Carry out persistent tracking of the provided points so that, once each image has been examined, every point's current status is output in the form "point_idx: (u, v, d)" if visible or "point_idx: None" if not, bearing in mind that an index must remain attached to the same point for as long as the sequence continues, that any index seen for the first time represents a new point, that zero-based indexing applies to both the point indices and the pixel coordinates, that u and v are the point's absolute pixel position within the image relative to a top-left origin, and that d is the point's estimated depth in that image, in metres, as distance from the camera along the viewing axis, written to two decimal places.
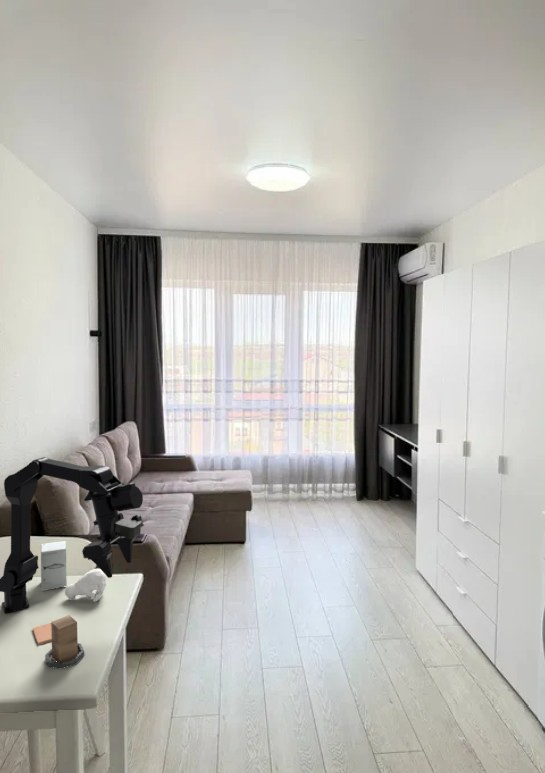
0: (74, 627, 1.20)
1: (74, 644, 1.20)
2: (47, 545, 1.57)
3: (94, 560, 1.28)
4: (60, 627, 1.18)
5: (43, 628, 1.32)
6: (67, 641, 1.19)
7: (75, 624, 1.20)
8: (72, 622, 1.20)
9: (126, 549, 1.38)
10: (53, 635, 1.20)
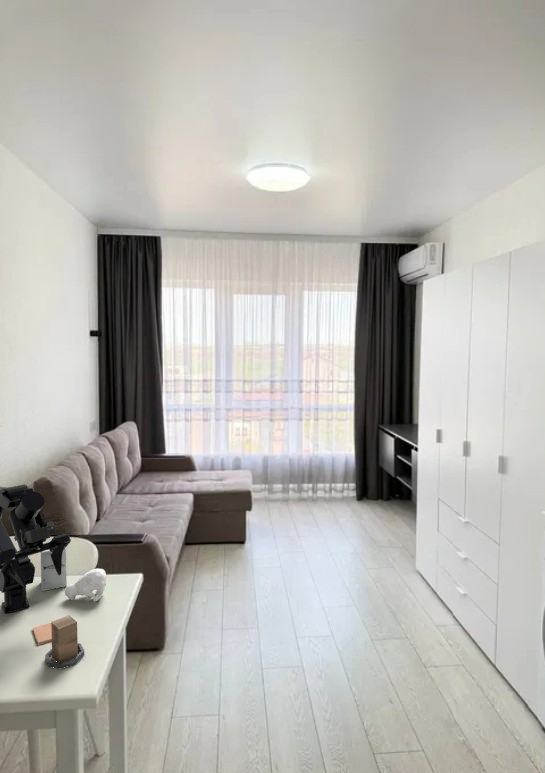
0: (74, 627, 1.20)
1: (74, 644, 1.20)
2: None
3: (8, 572, 1.29)
4: (60, 627, 1.18)
5: (43, 628, 1.32)
6: (67, 641, 1.19)
7: (75, 624, 1.20)
8: (72, 622, 1.20)
9: (56, 561, 1.36)
10: (53, 635, 1.20)
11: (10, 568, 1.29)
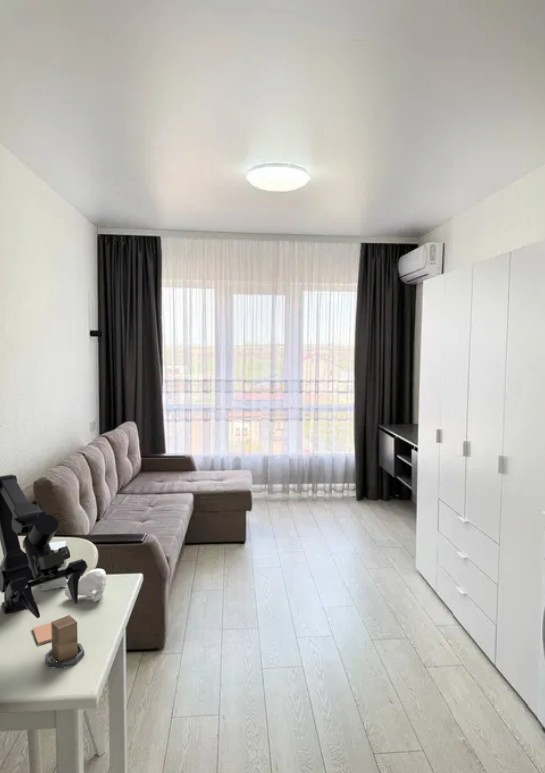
0: (74, 627, 1.20)
1: (74, 644, 1.20)
2: None
3: (22, 602, 1.21)
4: (60, 627, 1.18)
5: (43, 628, 1.32)
6: (67, 641, 1.19)
7: (75, 624, 1.20)
8: (72, 622, 1.20)
9: (72, 589, 1.27)
10: (53, 635, 1.20)
11: (23, 598, 1.21)
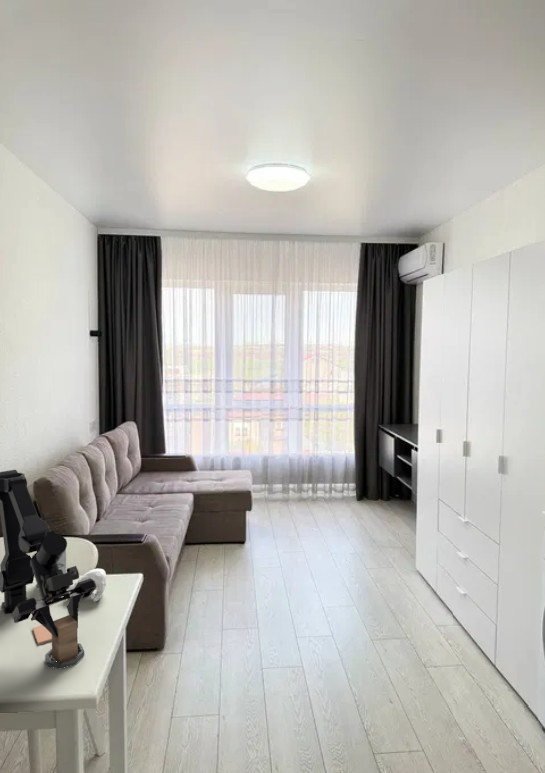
0: (74, 627, 1.20)
1: (75, 644, 1.20)
2: None
3: (39, 620, 1.20)
4: (60, 627, 1.18)
5: (43, 628, 1.32)
6: (67, 641, 1.19)
7: (75, 624, 1.20)
8: (72, 622, 1.20)
9: (72, 614, 1.23)
10: None
11: (41, 616, 1.20)
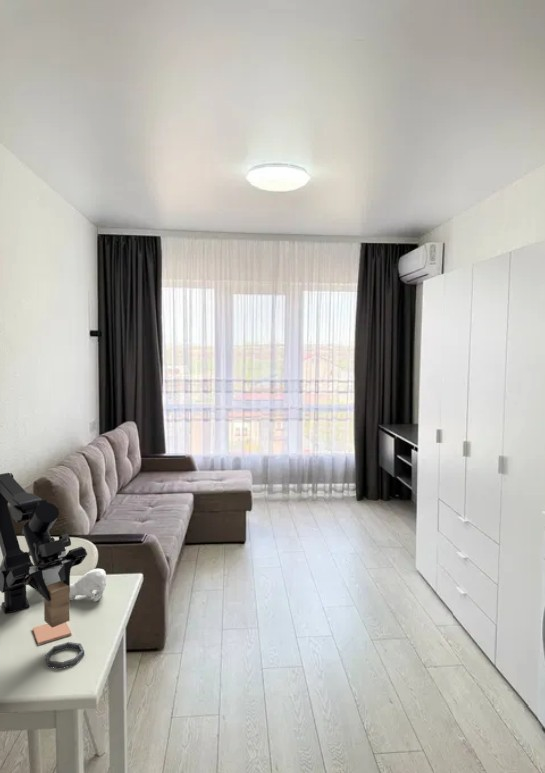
0: (66, 592, 1.25)
1: (66, 608, 1.25)
2: None
3: (32, 585, 1.24)
4: (53, 591, 1.22)
5: (43, 628, 1.32)
6: (59, 605, 1.24)
7: (67, 588, 1.25)
8: (64, 587, 1.25)
9: (63, 579, 1.28)
10: None
11: (34, 581, 1.24)
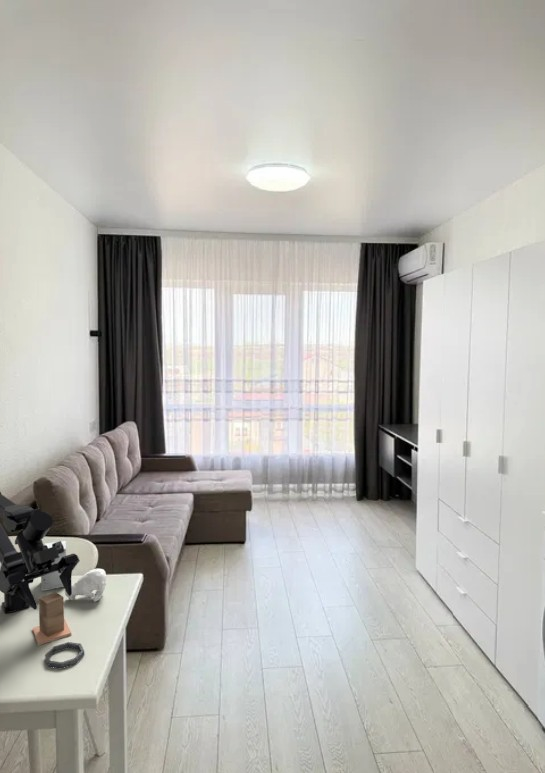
0: (61, 602, 1.30)
1: (61, 617, 1.31)
2: (47, 545, 1.57)
3: (18, 595, 1.28)
4: (48, 602, 1.28)
5: None
6: (54, 615, 1.29)
7: (62, 599, 1.31)
8: (59, 597, 1.30)
9: (65, 582, 1.35)
10: (41, 610, 1.30)
11: (20, 591, 1.28)
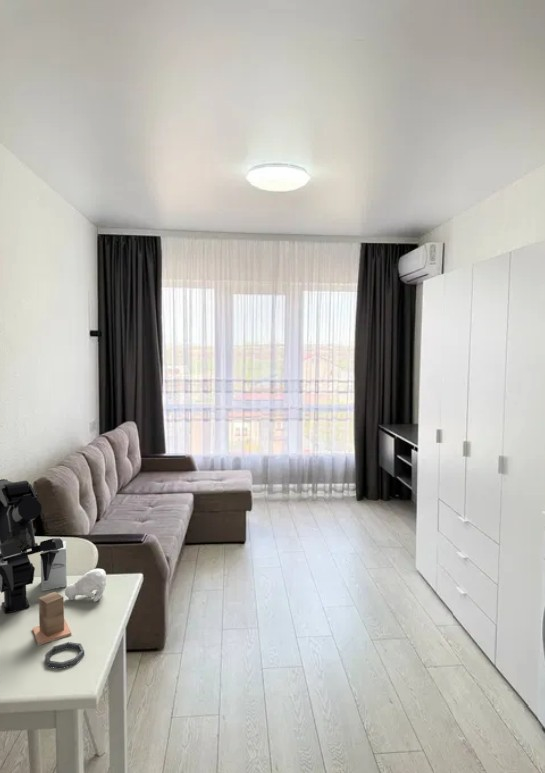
0: (61, 602, 1.30)
1: (61, 617, 1.31)
2: None
3: None
4: (48, 602, 1.28)
5: None
6: (54, 615, 1.29)
7: (62, 599, 1.31)
8: (59, 597, 1.30)
9: None
10: (41, 610, 1.30)
11: None
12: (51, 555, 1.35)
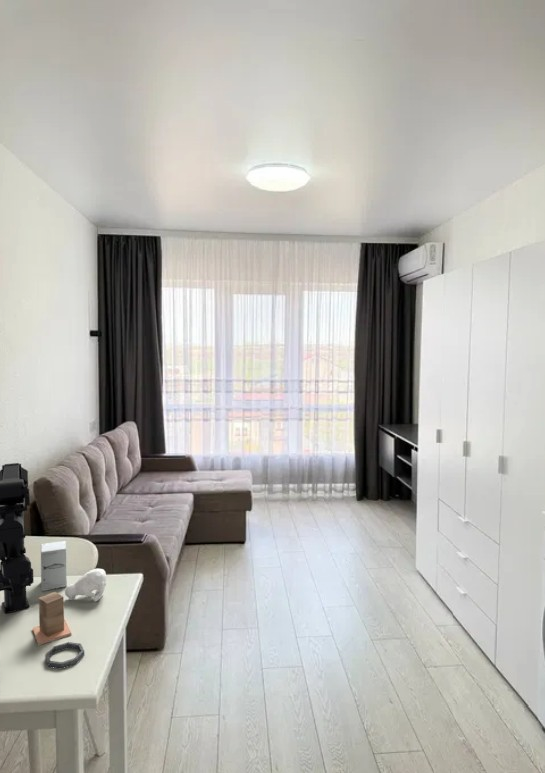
0: (61, 602, 1.30)
1: (61, 617, 1.31)
2: (47, 545, 1.57)
3: None
4: (48, 602, 1.28)
5: None
6: (54, 615, 1.29)
7: (62, 599, 1.31)
8: (59, 597, 1.30)
9: None
10: (41, 610, 1.30)
11: None
12: None
